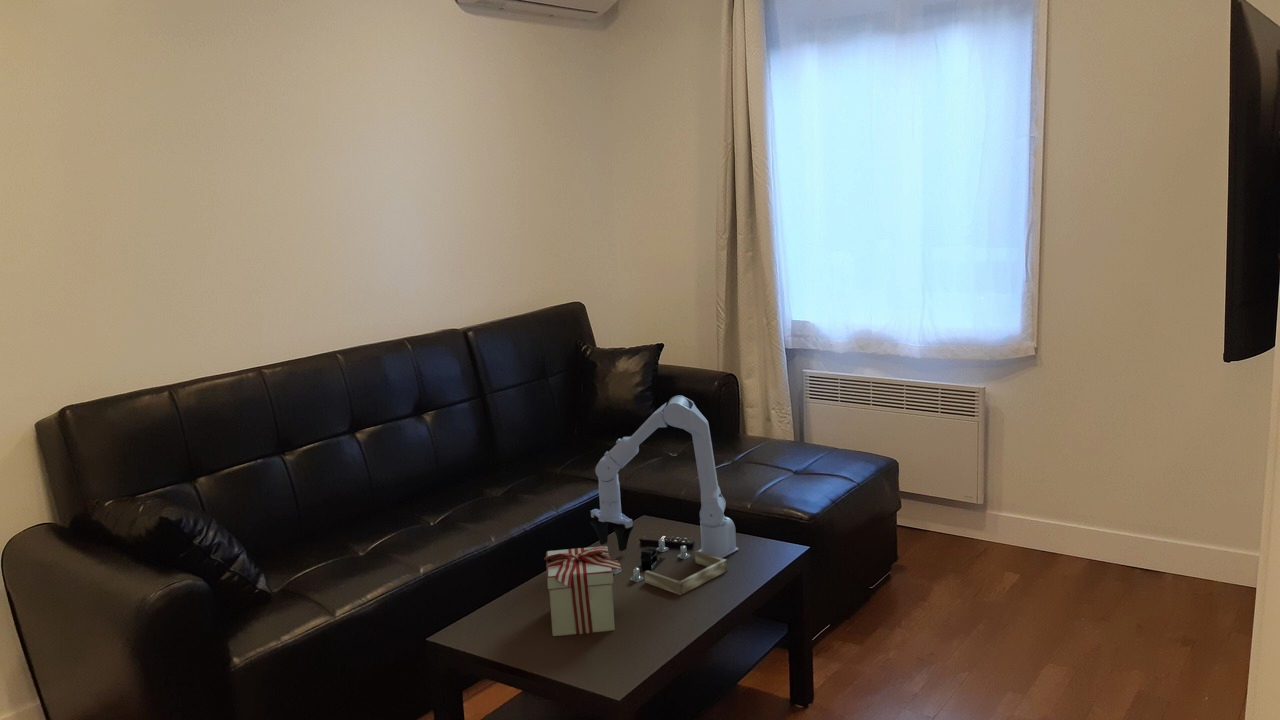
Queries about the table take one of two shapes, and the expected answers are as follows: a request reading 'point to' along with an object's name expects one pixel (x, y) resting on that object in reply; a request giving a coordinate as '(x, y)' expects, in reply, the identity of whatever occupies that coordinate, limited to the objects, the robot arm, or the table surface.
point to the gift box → (581, 590)
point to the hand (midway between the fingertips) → (613, 546)
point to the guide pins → (661, 549)
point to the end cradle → (680, 587)
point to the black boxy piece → (649, 559)
